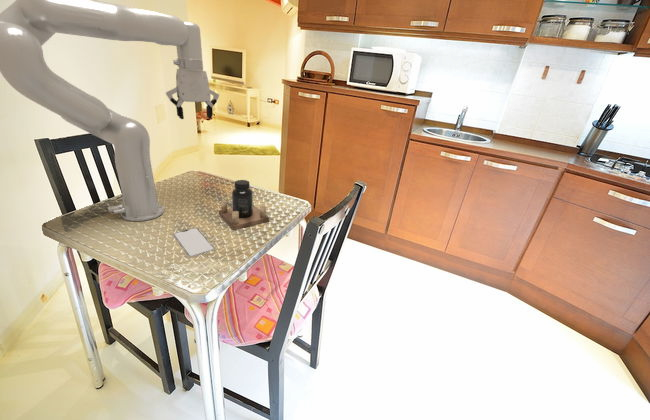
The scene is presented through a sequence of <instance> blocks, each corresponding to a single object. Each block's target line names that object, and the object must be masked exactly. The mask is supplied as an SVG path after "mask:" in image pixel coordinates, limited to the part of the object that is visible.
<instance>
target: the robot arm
mask: <svg viewBox="0 0 650 420" xmlns="http://www.w3.org/2000/svg"><path fill="white" fill-rule="evenodd" d="M56 33H57V34H63V35H71V36H79V37H88V38H93V39H95V38H96V39H102V40H110V41H120V42H145V43H155V44H157V45H160V46H174V47H176V54H177V55H176V56H177V58H176V59H173V61H172V62H173V65H176V66H177V67H178V68H176V71H175V72H176V73H175V75H176V76H175V77H176V78H175V79H176V80H175V83H176V84H175V85H176V87H173V88H171V89H170V90H168V91H166V92H165V95H166V96H167V98H168V99H169V102H171V103H172V104H173V105H175V107H176V116H177V117H179V119H180V120H184V119H185V117H184V109H183V107H182V105H183V104H184V103H185V102H189V103H191V102H192V103H205V104H206V107H205V108H206V117H207V118H208V119H211V120H212V118H213V116H214V113H213V112H214V111H213V107H214V106H215V104H217V102H218V99H219V97H220V94H218V92H217V93H216V92H215V91H213V89H210V88H211V87H210V83H209V78H208V74H207V71H206V70H204V65H203V63H204V62H203V49H202V38H201V37H202V36H201V29H200V25H198V24H197V23H195V22H192V21H185V20H181V19H180V18H179V17H177V16H175V15H171V14H166V13H161V12H157V11H153V10H147V9H142V8H135V7H131V6H127V5H122V4H117V3H112V2H107V1H101V0H14V1H13V2H12V3H11V4H10V5H9V6H7V7H6V8H5V9H3V11H1V12H0V74H1V76H2V77H3V78H4V79H5V81H6V82H7V83H8V84H9V85H10V87H12V88H13V89H14V90H15V91H17V93H19V94H20V95H22V96H23V97H25V98H27V99H29V100H30V101H32V102H34V103H36V104H37V105H40V106H41V107H43V108H45V109H46V110H48V111H50V112H51V113H52V112H53V113H55V114H56V115H58V116H60V117H61V119H63V120H64V121H65V122H67V123H69V124H70V125H72V126H75V127H77V128H79V129H81V130H82V131H85V132H87V133H89V134H91V135H92V136H95V137H97V138H98V139H101V140H102V141H105V142H107V143H109V144H111V145H113V148H114V163H115V168H116V172H117V176H118V182H119V186H120V189H121V194H122V199H123V200H122V201H121V203H118V205H109V206H107V210H108V213H113V214H114V215H116V214H120V216H121V218H122V219H123V220H126V221H129V222H143V221H149V220H153V219H155V218H158V217H160V216H162V214H163V213H164V211H165V208H164V206H163V205H162V204H160V203H158V196H157V190H156V186H155V178H154V173H153V168H152V161H151V150H150V148H151V145H150V144H151V139H150V135H149V132H148V129H147V128H146V127H145V126H144V125H143V124H142V123H141V122H139V121H137V120H136V119H132V118H131V117H127V116H124V115H121V114H119V113H117V112H115V111H114V110H112V109H111V108H109V107H107V105H106V104H105V103H104V102H103V101H102V100H101V99H98V98H97V97H95V96H93V95H91V94H89V93H87V92H86V91H84V90H82V89H81V88H79V87H77V86H76V85H74V84H72V83H70V82H68V81H67V80H65V78H63V77H61V76H59V75H58V74H57V73H55V72H54V71H52V70H51V68H50V67H49V66H48V65H47V63H46V61H45V57H44V52H43V51H44V50H43V47H42V46H44V44H46V43H47V42H48V41H49V40H50V39H51V38H52V37H53V36H54V35H55V34H56ZM174 94H176V96H177V99H175V98H174V97H173V95H174ZM211 96H213V98H212V99H211Z"/></svg>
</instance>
